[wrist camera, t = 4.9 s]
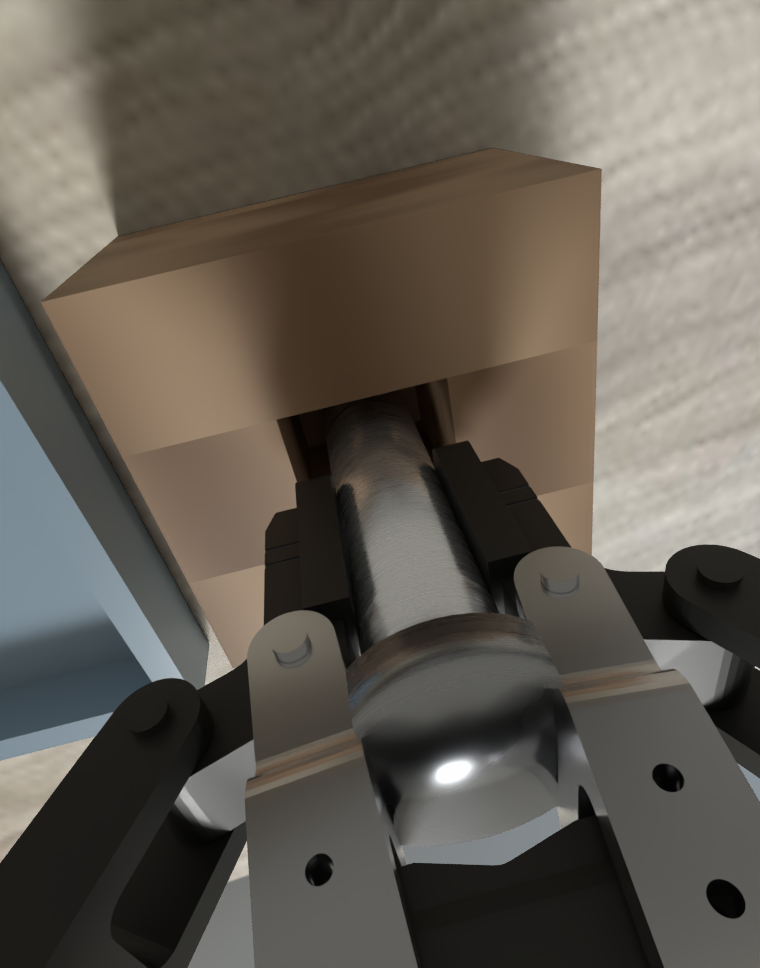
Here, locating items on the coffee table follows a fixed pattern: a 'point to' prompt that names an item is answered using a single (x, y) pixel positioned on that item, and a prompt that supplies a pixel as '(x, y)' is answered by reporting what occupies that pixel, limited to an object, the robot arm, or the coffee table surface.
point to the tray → (72, 563)
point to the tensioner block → (342, 347)
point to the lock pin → (434, 645)
